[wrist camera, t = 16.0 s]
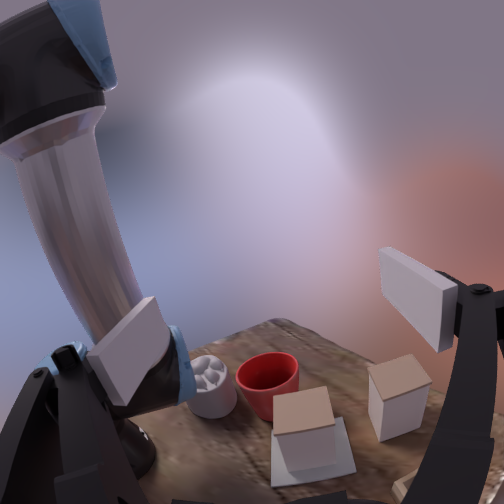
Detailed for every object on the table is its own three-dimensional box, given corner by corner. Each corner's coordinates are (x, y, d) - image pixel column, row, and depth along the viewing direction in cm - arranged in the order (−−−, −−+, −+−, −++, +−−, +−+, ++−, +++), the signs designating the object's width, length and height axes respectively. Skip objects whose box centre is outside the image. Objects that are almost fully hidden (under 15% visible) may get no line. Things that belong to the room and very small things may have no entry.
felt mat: (271, 487, 28) (270, 486, 28) (272, 431, 40) (271, 429, 39) (356, 472, 27) (356, 471, 27) (342, 418, 38) (342, 416, 38)
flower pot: (317, 399, 45) (311, 359, 43) (278, 437, 38) (266, 399, 36) (276, 382, 53) (266, 345, 51) (237, 413, 46) (222, 376, 44)
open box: (401, 512, 17) (407, 502, 16) (389, 493, 21) (394, 481, 20) (428, 497, 17) (436, 485, 17) (415, 479, 21) (421, 466, 20)
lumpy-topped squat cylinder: (221, 375, 59) (210, 345, 58) (248, 404, 48) (237, 371, 46) (181, 394, 55) (166, 364, 53) (201, 427, 43) (184, 395, 42)
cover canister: (286, 473, 30) (273, 434, 28) (285, 438, 37) (273, 395, 35) (337, 464, 29) (335, 423, 27) (330, 429, 36) (326, 385, 34)
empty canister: (378, 443, 30) (383, 399, 28) (367, 412, 38) (367, 367, 35) (421, 427, 30) (432, 381, 27) (406, 399, 37) (411, 353, 35)
